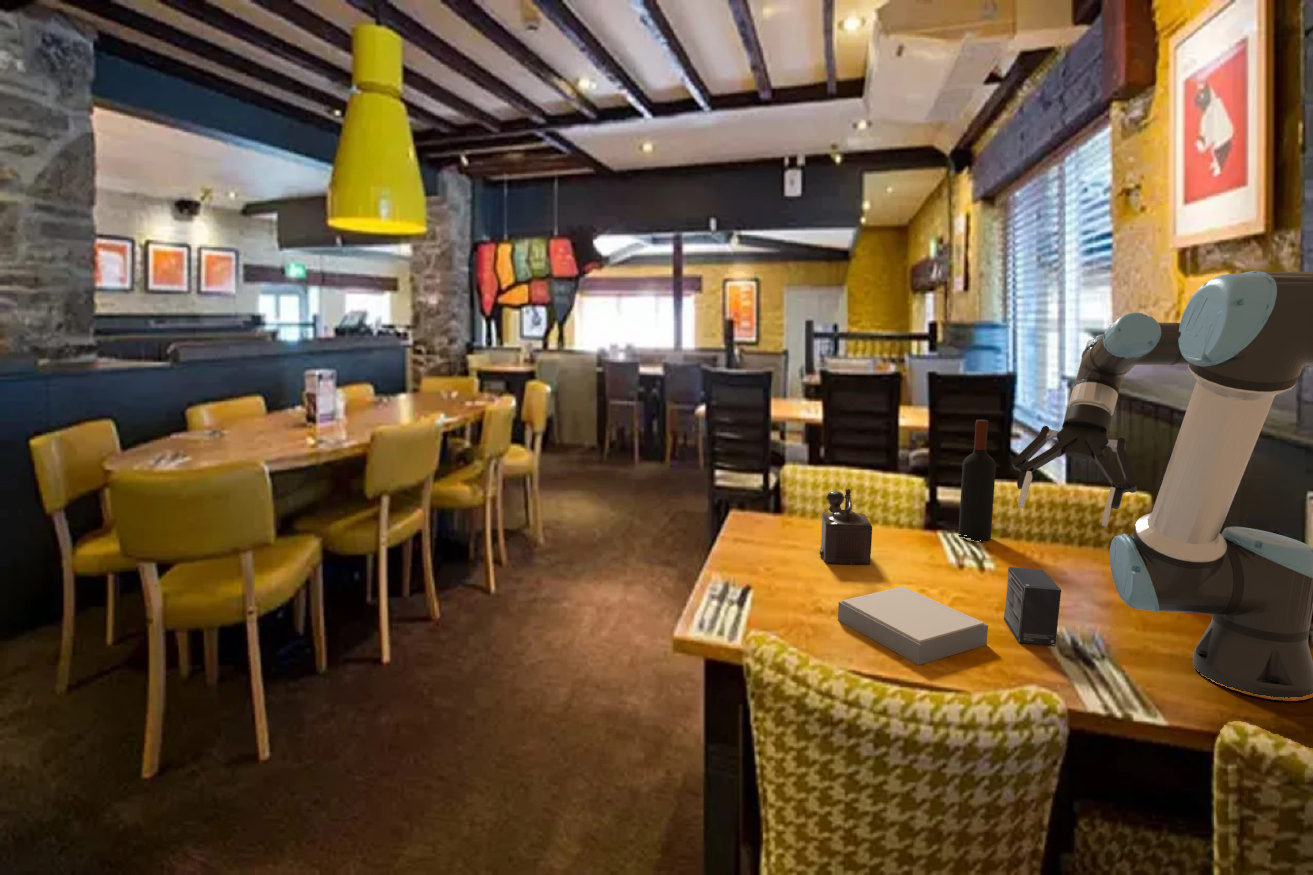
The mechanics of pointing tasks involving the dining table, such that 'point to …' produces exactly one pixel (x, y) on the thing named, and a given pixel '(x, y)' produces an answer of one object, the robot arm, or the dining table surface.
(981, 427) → the wine bottle
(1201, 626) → the dining table surface
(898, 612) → the stand
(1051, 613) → the small box
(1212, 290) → the robot arm
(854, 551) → the pepper mill
